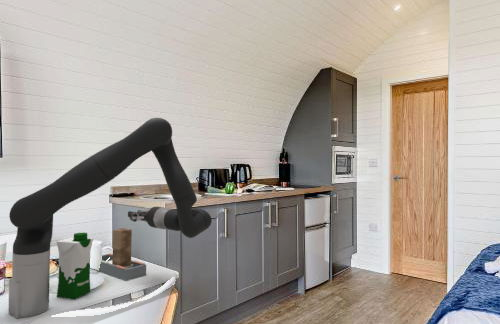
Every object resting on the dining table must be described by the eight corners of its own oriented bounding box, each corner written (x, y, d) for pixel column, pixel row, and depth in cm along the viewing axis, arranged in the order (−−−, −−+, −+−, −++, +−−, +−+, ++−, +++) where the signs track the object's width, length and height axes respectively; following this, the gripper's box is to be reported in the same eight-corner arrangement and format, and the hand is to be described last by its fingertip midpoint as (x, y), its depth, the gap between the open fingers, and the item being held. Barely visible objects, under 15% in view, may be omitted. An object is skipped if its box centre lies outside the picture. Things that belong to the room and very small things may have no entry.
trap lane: (125, 281, 128) (125, 269, 128) (88, 267, 144) (88, 257, 144) (146, 275, 136) (146, 263, 136) (108, 263, 151) (109, 253, 151)
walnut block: (119, 267, 134) (120, 231, 134) (112, 265, 137) (113, 229, 137) (131, 265, 138) (131, 229, 138) (123, 262, 141) (124, 228, 141)
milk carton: (75, 301, 109) (76, 236, 109) (51, 297, 111) (53, 234, 111) (94, 291, 117) (96, 231, 117) (72, 288, 120) (73, 230, 120)
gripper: (178, 205, 129) (149, 202, 139) (146, 209, 118) (117, 205, 128) (178, 226, 129) (148, 221, 139) (145, 231, 118) (116, 225, 128)
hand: (133, 213), depth 134 cm, fingers open, 3 cm apart
